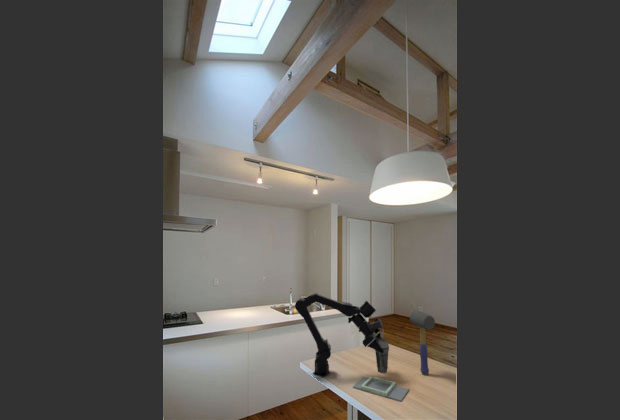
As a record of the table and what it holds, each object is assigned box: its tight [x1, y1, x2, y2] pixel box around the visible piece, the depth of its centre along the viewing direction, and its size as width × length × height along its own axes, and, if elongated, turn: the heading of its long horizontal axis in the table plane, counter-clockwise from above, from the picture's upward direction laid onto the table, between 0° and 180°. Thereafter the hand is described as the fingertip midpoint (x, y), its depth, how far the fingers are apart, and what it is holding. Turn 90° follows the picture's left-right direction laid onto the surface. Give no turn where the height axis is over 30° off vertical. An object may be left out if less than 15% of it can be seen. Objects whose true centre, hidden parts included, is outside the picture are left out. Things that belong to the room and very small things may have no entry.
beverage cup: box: [374, 328, 390, 374], centre depth 142 cm, size 7×7×20 cm
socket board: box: [352, 375, 410, 403], centre depth 130 cm, size 22×12×2 cm, turn 56°
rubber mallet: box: [409, 310, 436, 376], centre depth 147 cm, size 12×8×30 cm, turn 16°
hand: (384, 350), depth 142 cm, fingers closed on beverage cup, 7 cm apart
